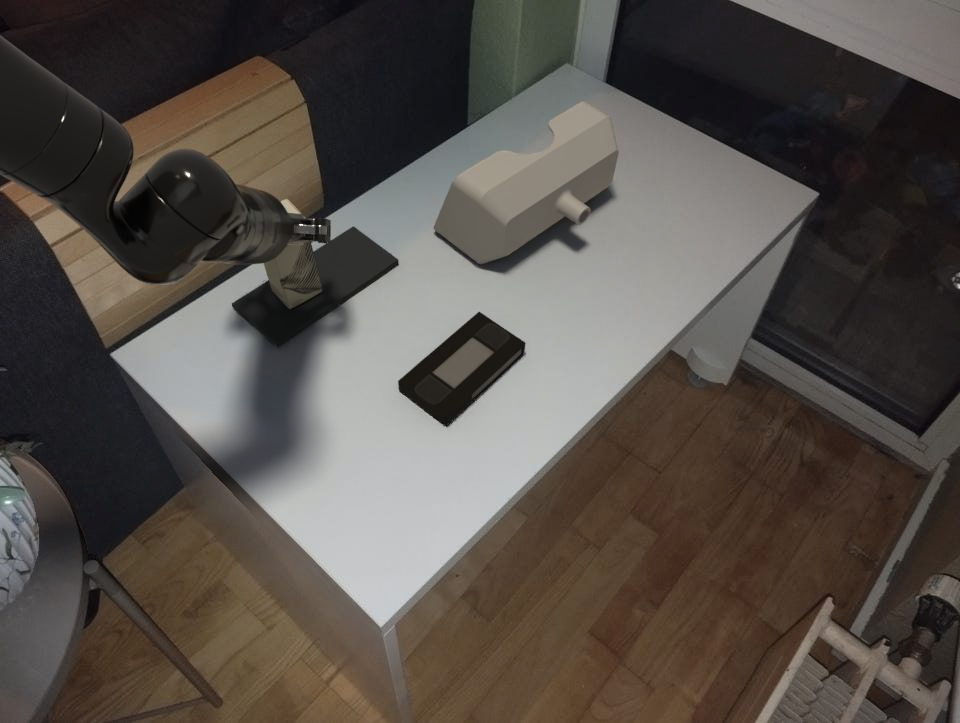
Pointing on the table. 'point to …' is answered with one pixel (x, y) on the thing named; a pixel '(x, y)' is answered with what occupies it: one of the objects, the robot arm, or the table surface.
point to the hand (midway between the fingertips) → (284, 230)
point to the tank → (530, 187)
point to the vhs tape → (461, 368)
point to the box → (294, 271)
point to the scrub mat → (341, 276)
